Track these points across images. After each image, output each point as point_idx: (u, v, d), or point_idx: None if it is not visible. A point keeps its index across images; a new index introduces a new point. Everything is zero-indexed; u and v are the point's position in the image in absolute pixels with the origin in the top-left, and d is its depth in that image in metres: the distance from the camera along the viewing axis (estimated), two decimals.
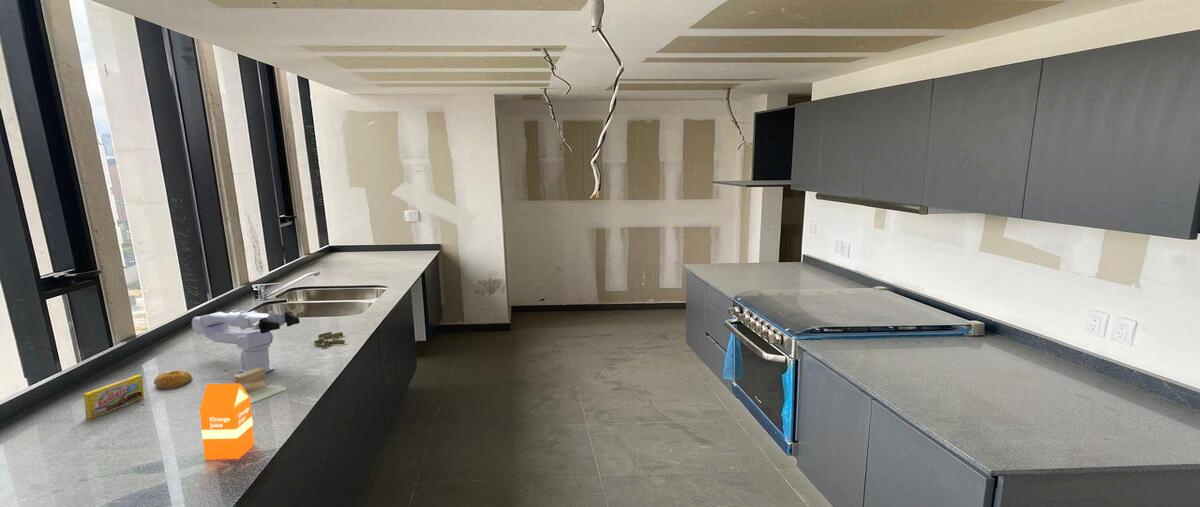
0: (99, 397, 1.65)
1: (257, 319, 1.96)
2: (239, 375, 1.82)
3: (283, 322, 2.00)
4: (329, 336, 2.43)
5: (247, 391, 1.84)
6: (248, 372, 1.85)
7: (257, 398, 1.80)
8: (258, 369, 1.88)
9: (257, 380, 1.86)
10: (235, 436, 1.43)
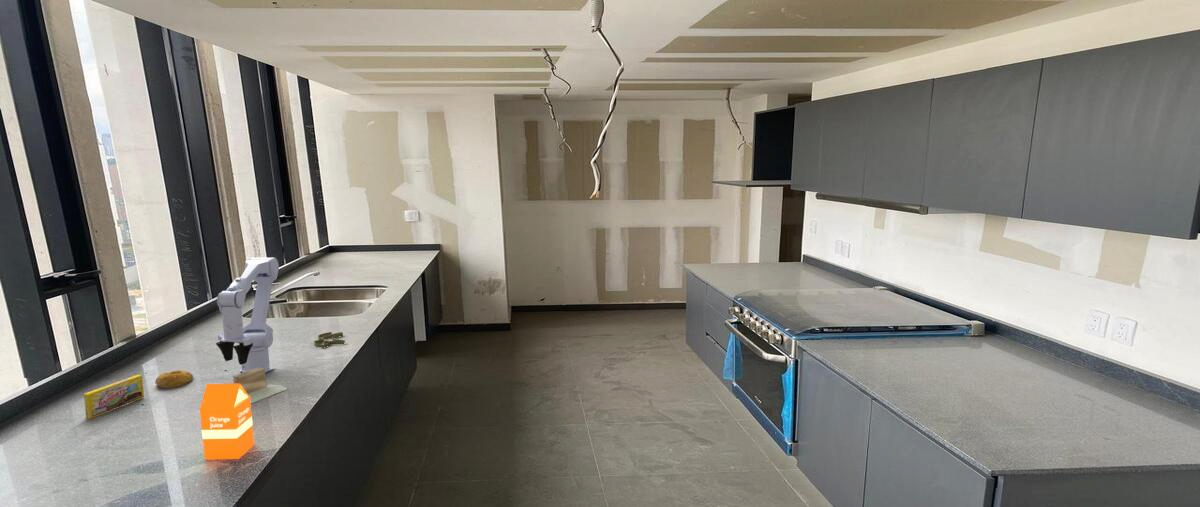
0: (99, 397, 1.65)
1: None
2: (239, 375, 1.82)
3: None
4: (329, 336, 2.43)
5: (247, 391, 1.84)
6: (248, 372, 1.85)
7: (257, 398, 1.80)
8: (258, 369, 1.88)
9: (257, 380, 1.86)
10: (235, 436, 1.43)
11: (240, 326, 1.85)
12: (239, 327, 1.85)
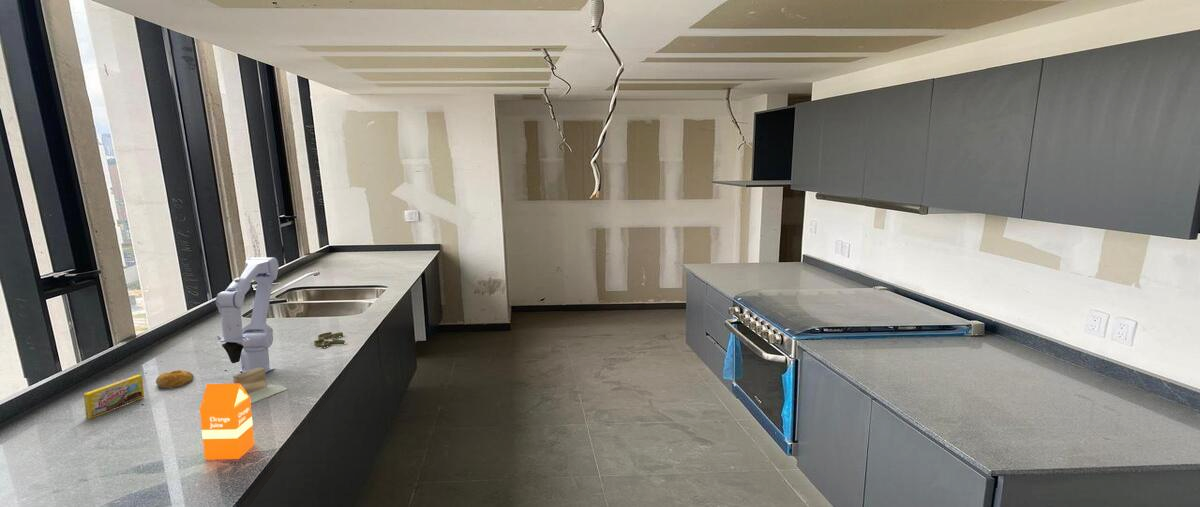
0: (99, 397, 1.65)
1: None
2: (239, 375, 1.82)
3: None
4: (329, 336, 2.43)
5: (247, 391, 1.84)
6: (248, 372, 1.85)
7: (257, 398, 1.80)
8: (258, 369, 1.88)
9: (257, 380, 1.86)
10: (235, 436, 1.43)
11: (239, 326, 1.85)
12: (238, 327, 1.84)
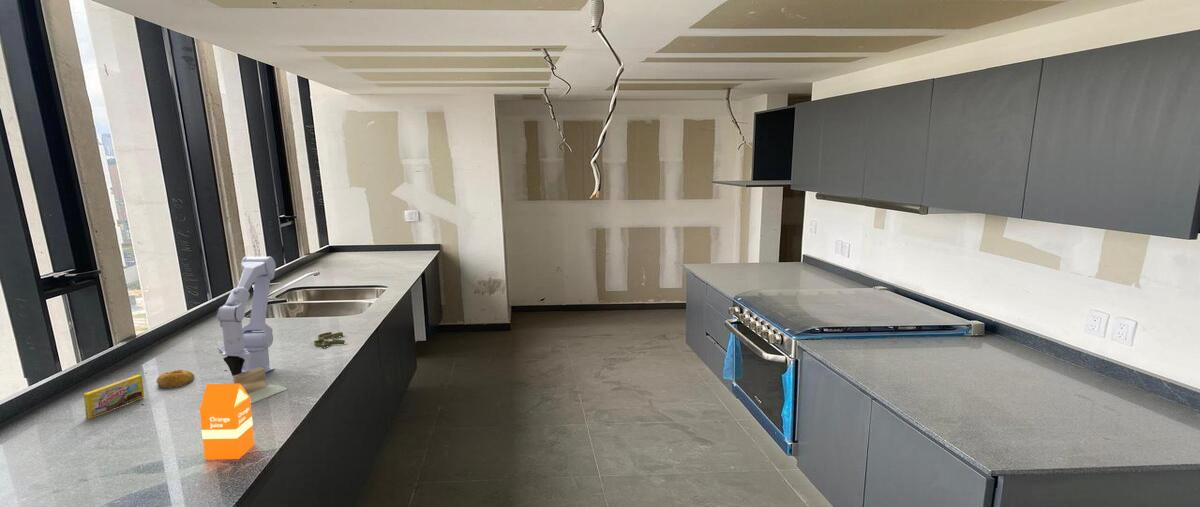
0: (99, 397, 1.65)
1: None
2: (239, 375, 1.82)
3: None
4: (329, 336, 2.43)
5: (247, 391, 1.84)
6: (248, 372, 1.85)
7: (257, 398, 1.80)
8: (258, 369, 1.88)
9: (257, 380, 1.86)
10: (235, 436, 1.43)
11: (240, 340, 1.86)
12: (239, 341, 1.85)
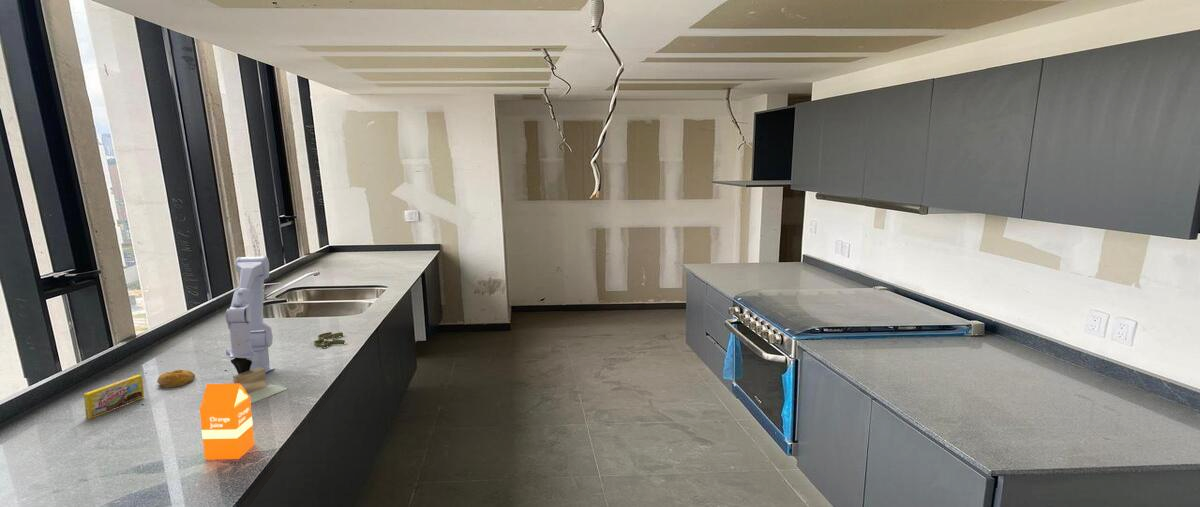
0: (99, 397, 1.65)
1: None
2: (239, 375, 1.82)
3: None
4: (329, 336, 2.43)
5: (247, 391, 1.84)
6: (248, 372, 1.85)
7: (257, 398, 1.80)
8: (258, 369, 1.88)
9: (257, 380, 1.86)
10: (235, 436, 1.43)
11: (248, 342, 1.84)
12: (247, 343, 1.84)
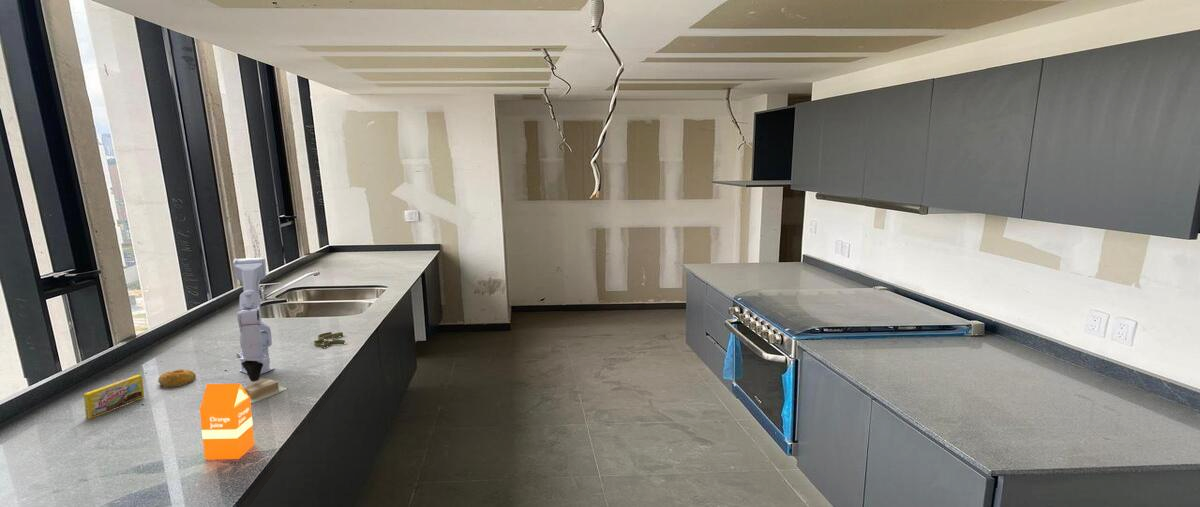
0: (99, 397, 1.65)
1: None
2: (256, 394, 1.80)
3: None
4: (329, 336, 2.43)
5: None
6: (265, 390, 1.82)
7: (257, 398, 1.80)
8: (274, 388, 1.85)
9: None
10: (235, 436, 1.43)
11: (259, 344, 1.82)
12: (258, 346, 1.81)
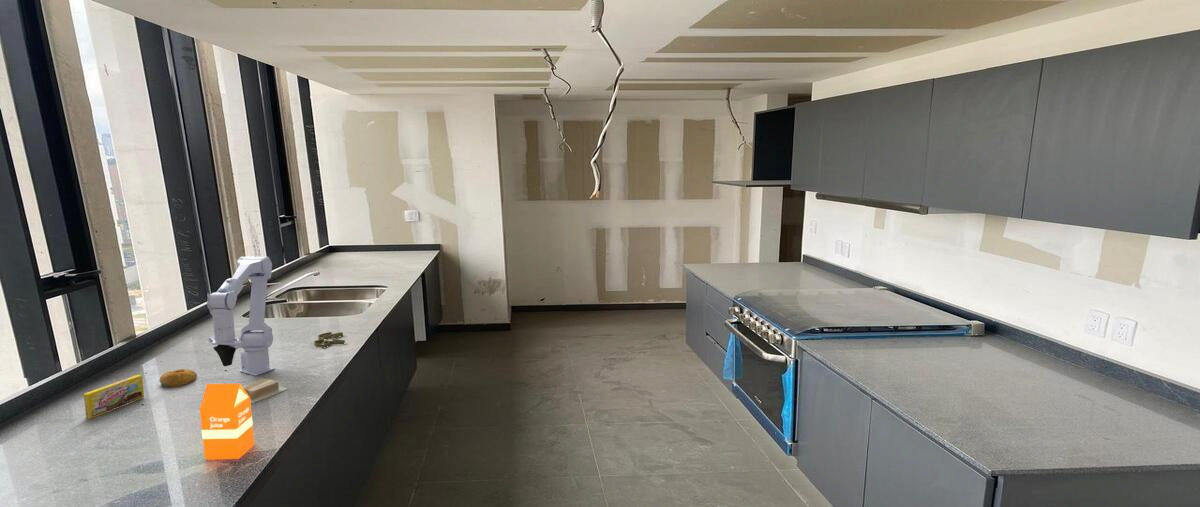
0: (99, 397, 1.65)
1: None
2: (256, 394, 1.80)
3: None
4: (329, 336, 2.43)
5: None
6: (265, 390, 1.82)
7: (257, 398, 1.80)
8: (274, 388, 1.85)
9: None
10: (235, 436, 1.43)
11: (231, 329, 1.80)
12: (230, 330, 1.79)
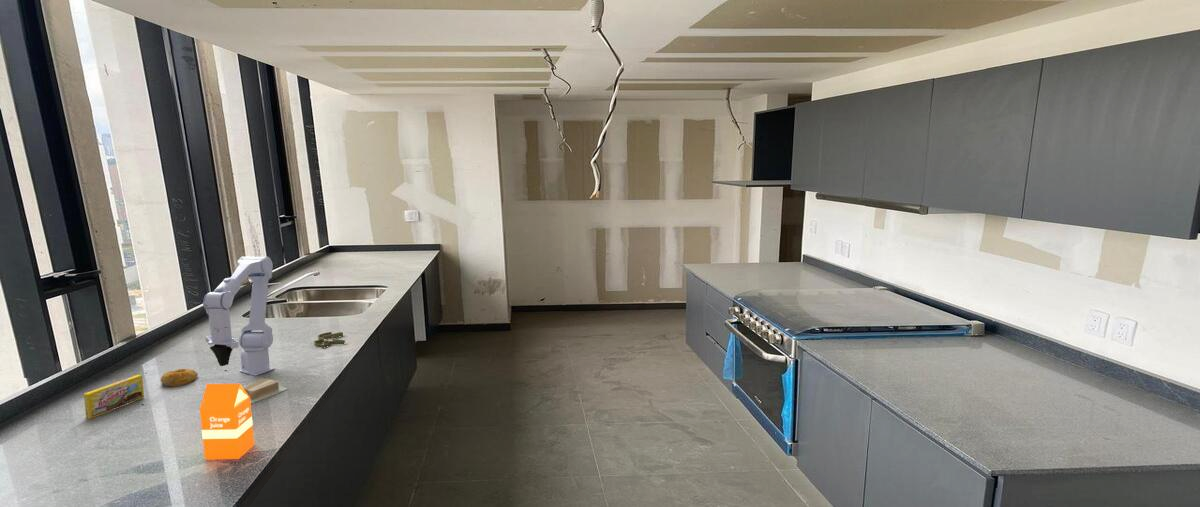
0: (99, 397, 1.65)
1: None
2: (256, 394, 1.80)
3: None
4: (329, 336, 2.43)
5: None
6: (265, 390, 1.82)
7: (257, 398, 1.80)
8: (274, 388, 1.85)
9: None
10: (235, 436, 1.43)
11: (228, 328, 1.79)
12: (227, 329, 1.79)
